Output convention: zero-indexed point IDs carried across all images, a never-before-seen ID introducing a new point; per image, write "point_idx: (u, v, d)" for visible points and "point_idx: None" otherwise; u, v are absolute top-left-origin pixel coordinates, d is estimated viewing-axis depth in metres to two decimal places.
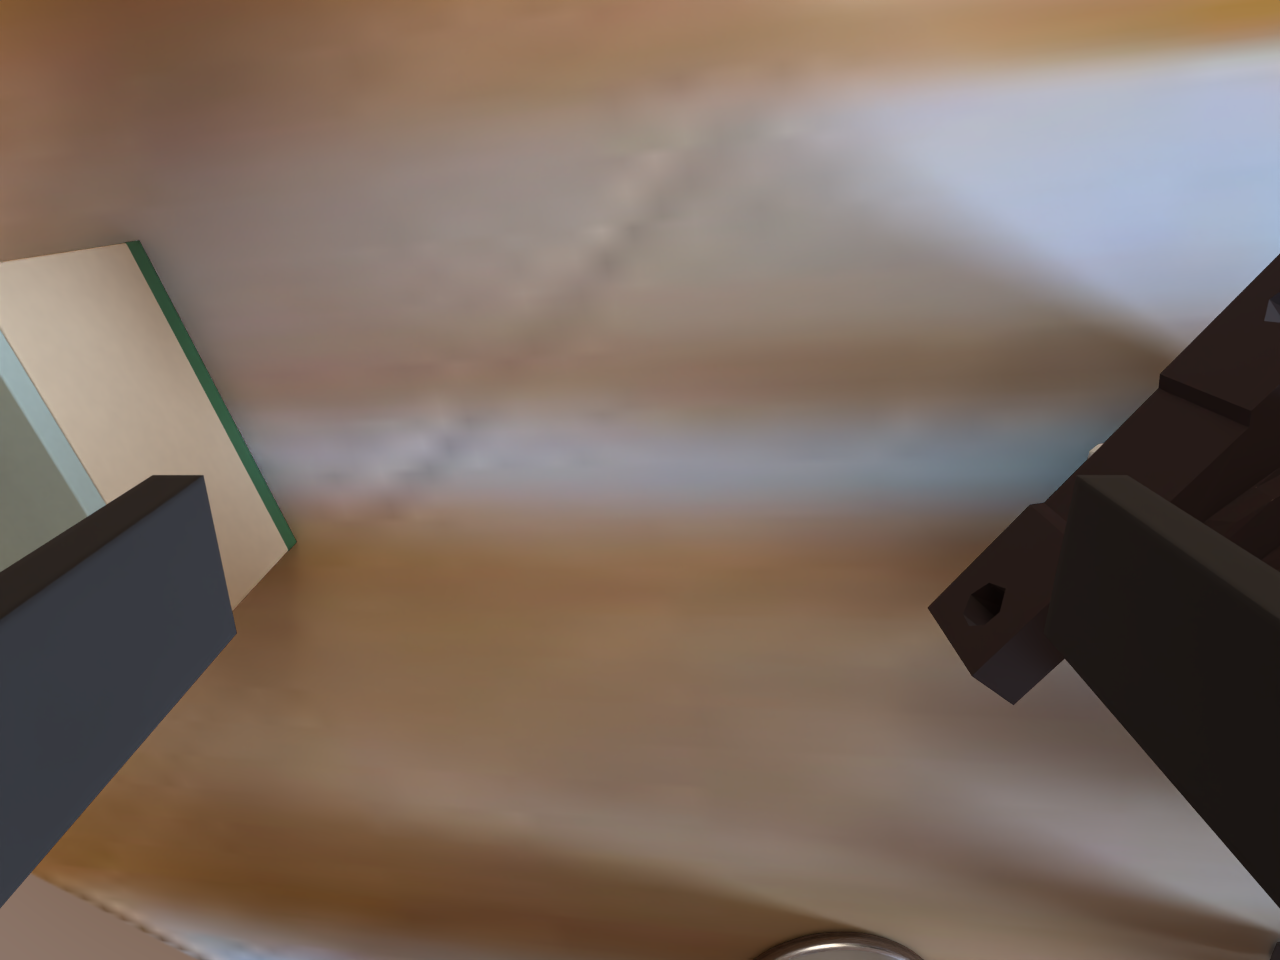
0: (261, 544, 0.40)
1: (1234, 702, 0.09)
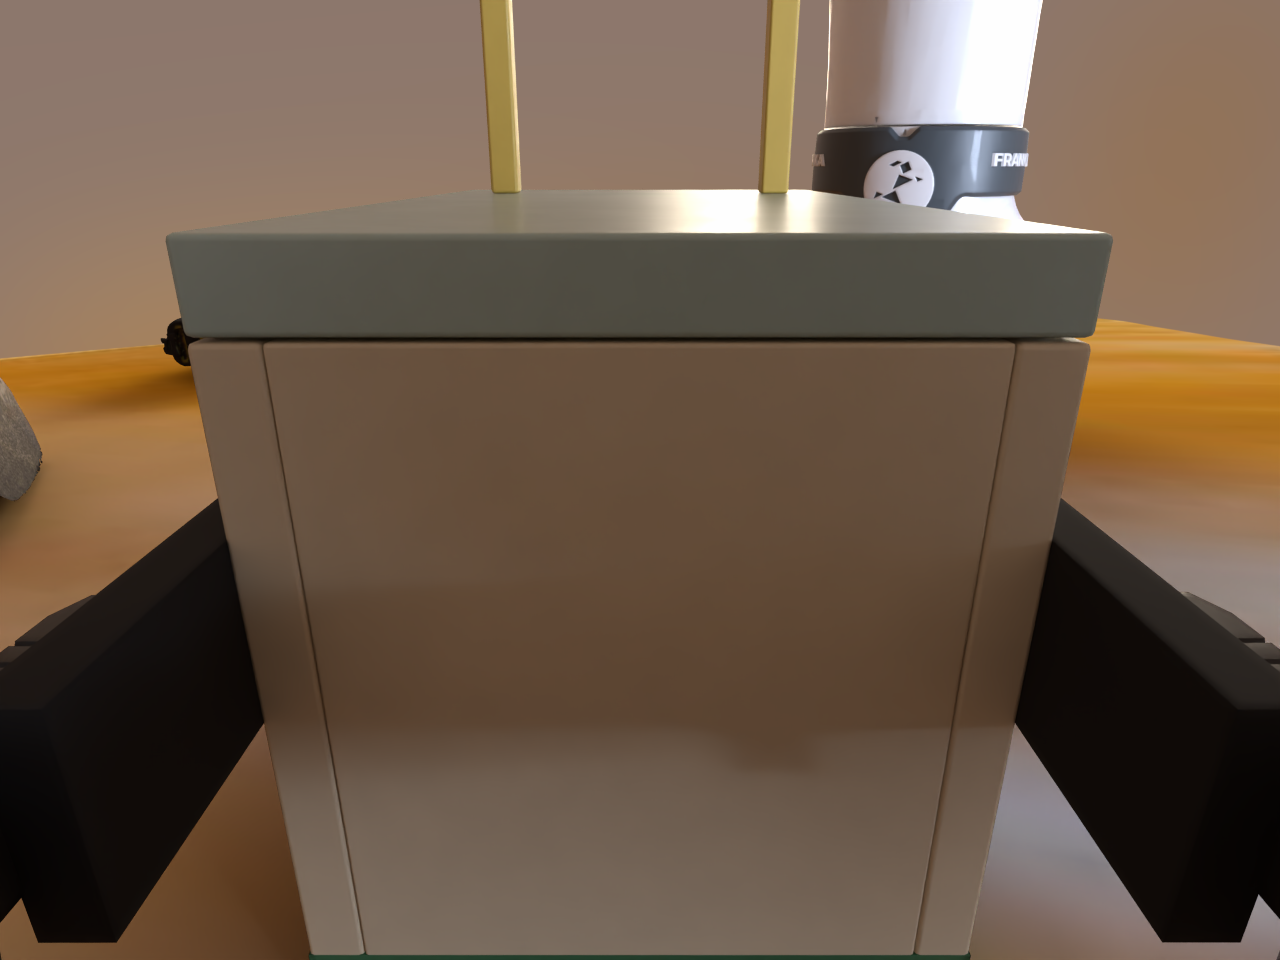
0: None
1: (1059, 651, 0.10)
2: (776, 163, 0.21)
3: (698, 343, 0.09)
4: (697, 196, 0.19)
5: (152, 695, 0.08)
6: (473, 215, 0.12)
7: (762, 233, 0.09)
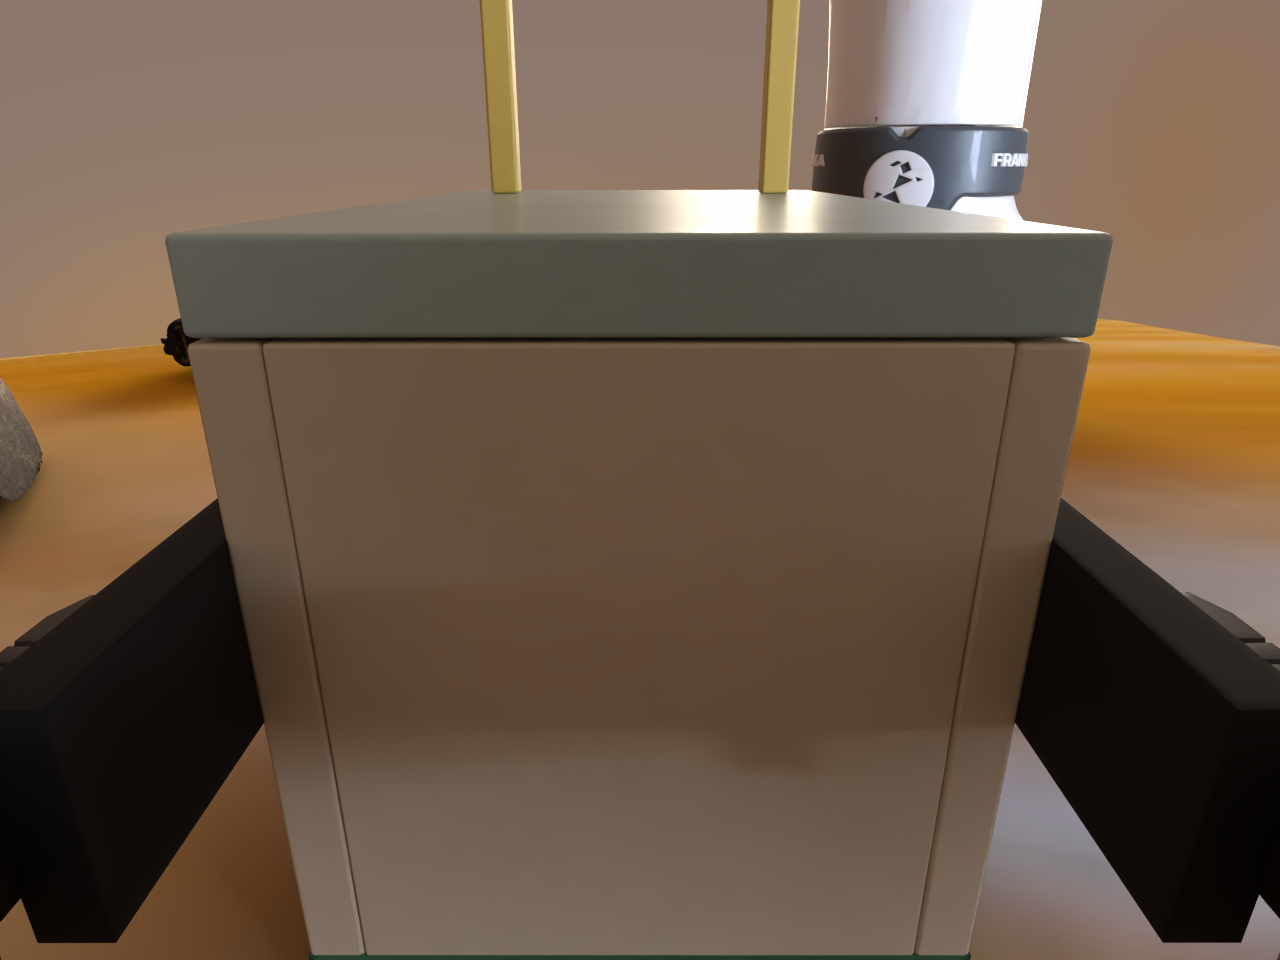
0: None
1: (1060, 651, 0.10)
2: (776, 163, 0.21)
3: (698, 343, 0.09)
4: (697, 196, 0.19)
5: (152, 695, 0.08)
6: (473, 215, 0.12)
7: (761, 233, 0.09)
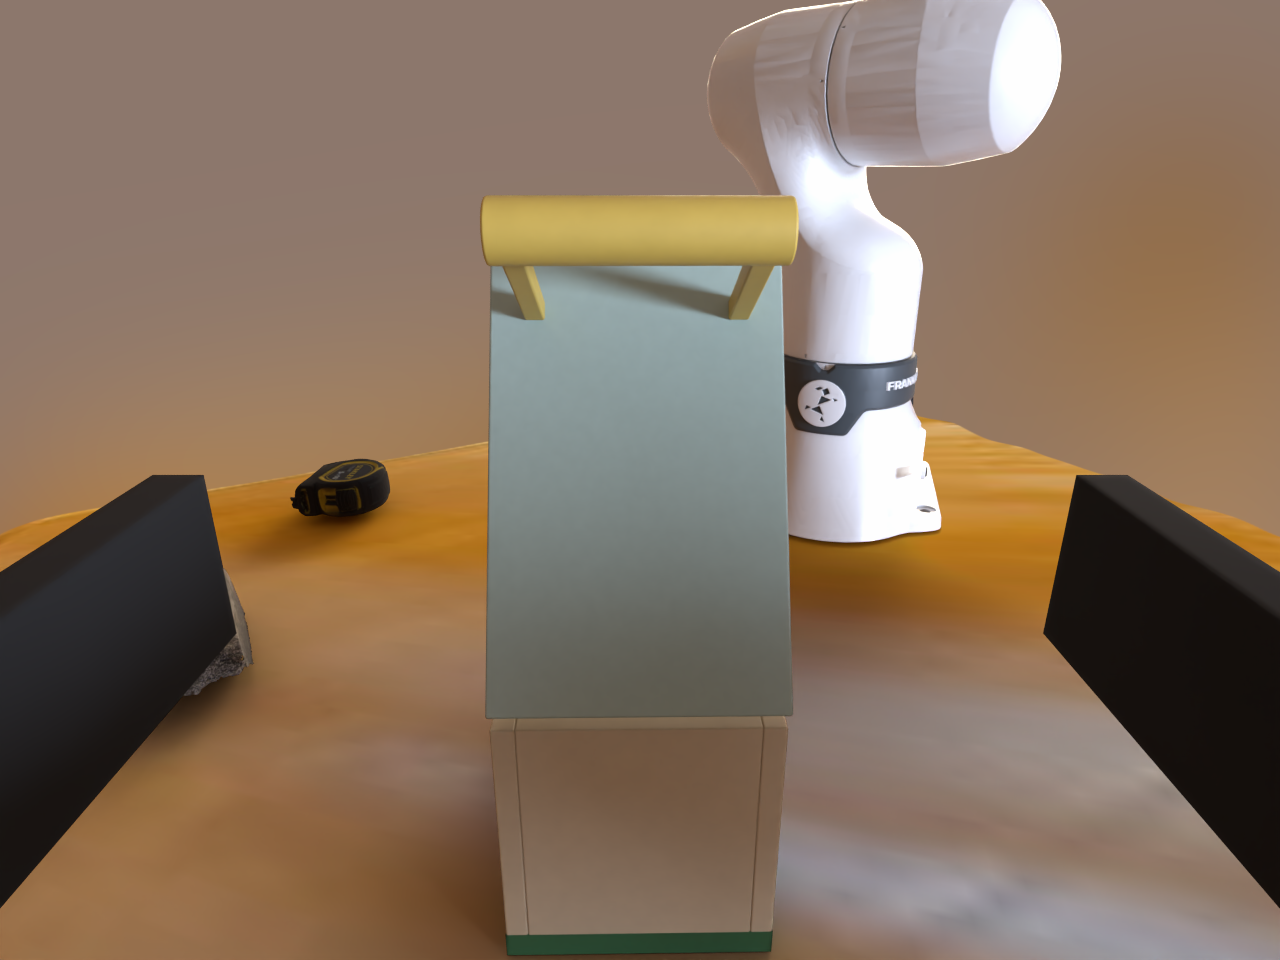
0: None
1: (1235, 704, 0.09)
2: (741, 313, 0.27)
3: (658, 728, 0.27)
4: (676, 383, 0.28)
5: None
6: (566, 616, 0.27)
7: (679, 715, 0.27)
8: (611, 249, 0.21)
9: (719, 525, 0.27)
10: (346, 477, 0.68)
